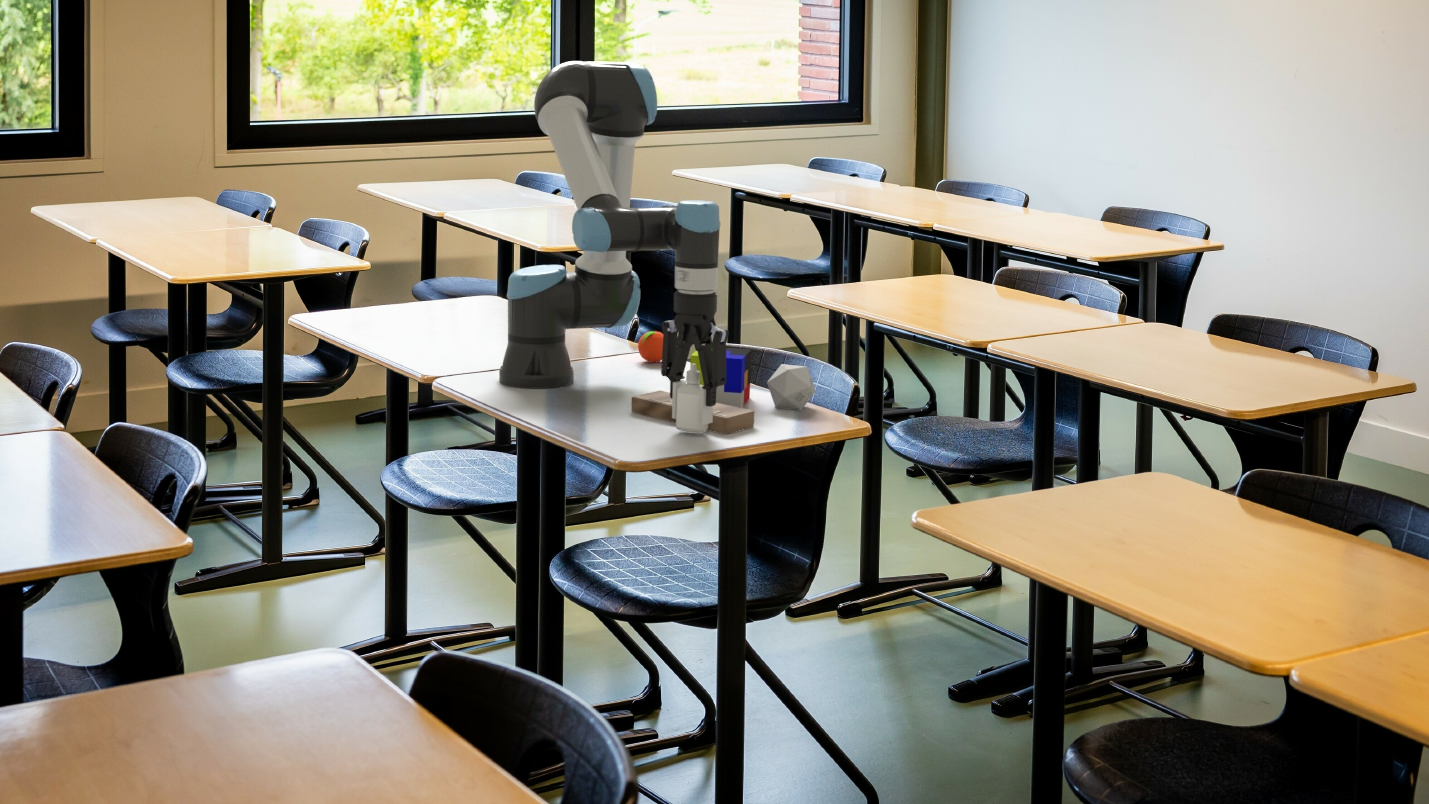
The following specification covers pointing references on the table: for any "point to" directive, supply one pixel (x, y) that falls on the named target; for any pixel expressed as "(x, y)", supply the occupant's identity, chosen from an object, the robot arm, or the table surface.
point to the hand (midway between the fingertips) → (692, 420)
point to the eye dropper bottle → (689, 403)
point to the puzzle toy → (732, 377)
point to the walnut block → (723, 422)
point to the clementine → (651, 346)
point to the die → (791, 386)
